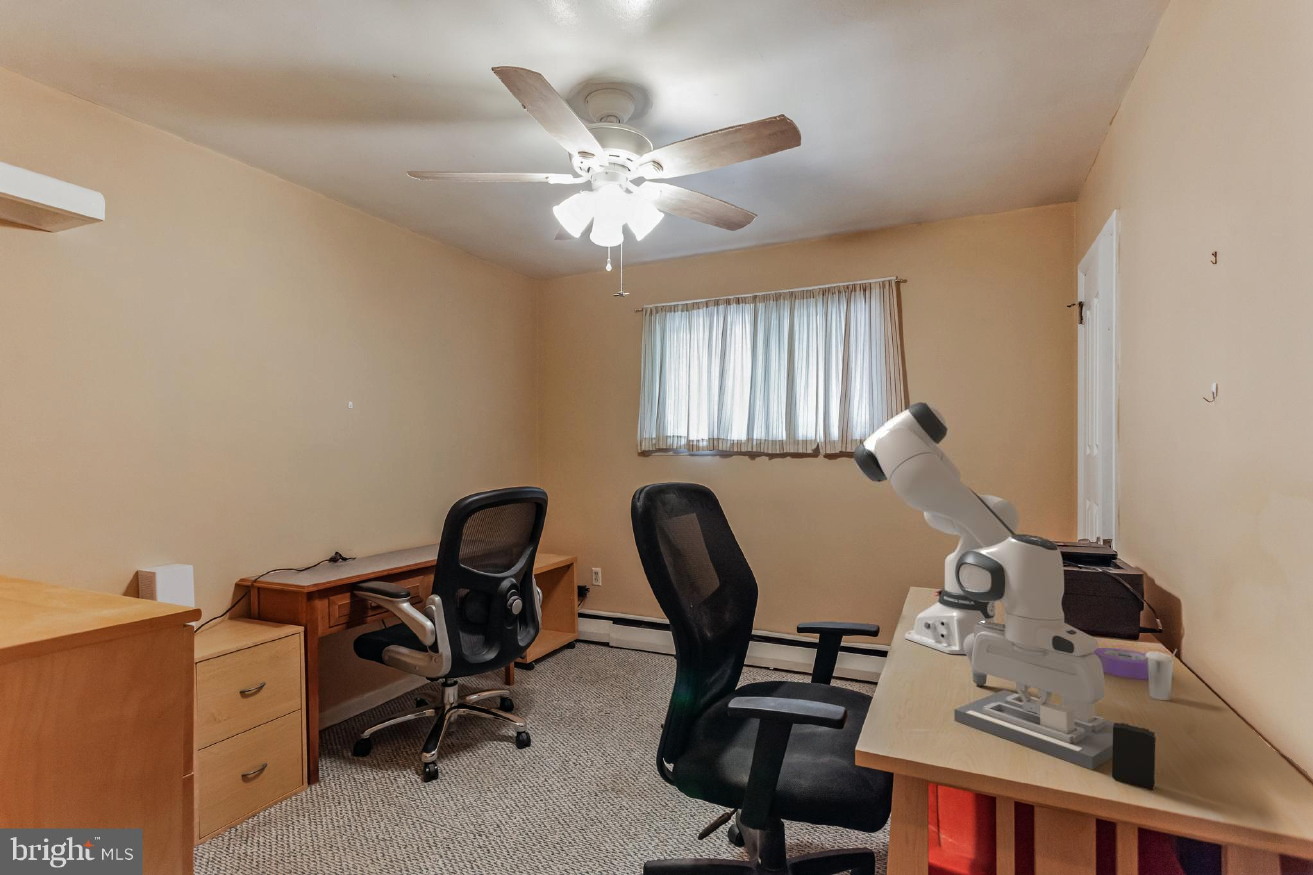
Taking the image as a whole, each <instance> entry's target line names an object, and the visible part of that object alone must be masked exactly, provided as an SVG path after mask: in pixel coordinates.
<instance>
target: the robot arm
mask: <svg viewBox="0 0 1313 875" xmlns="http://www.w3.org/2000/svg"><path fill="white" fill-rule="evenodd" d="M947 433H948V427H947V424H946V421H945V418H944V416H943V415H942V413H941V412H940V411H939V410H938V409H937V408H935V407H934V406H932V405H930V404H928V403H927V402H917V403H914V404H911V405H910V406H908V407H907V409H905V410H904V411H902V412H900V413H898V414H896V415H894V416H893V417H892V418H890V419H888V421H886V422H885V423H883V425H881V426H880V427H879V428H877V429H876V430H875V431H874V432H873V433H871V435H870V436H869V437H867V438H866V439H865V440H864V441H861V442H860V443H859V444H858V445H857V446H856V448H855V449H854V451H853V459H854V461H855V465H856V467H857V469H858V471H860V473H861V474H862V475H863V476H864V477H865V478H867V479H869V480H870V481H872V482H876V483H882V482H884V481H888V482H889V484H890V485H891V487H892V488H893V490H894V491H895V493H896V494H897V496H898V497H899V498H901V500H902V501H903V502H904V503H906V505H907V506H909V507H910V508H913V509H914V510H916V511H919V512H923V517H924V520H925V522H926V524H928V526H930V527H931V528H933V529H935V530H937V531H939V532H942V533H944V534H948V535H955V536H959V541H958V545H957V547H956V549H955V550H954V552H952V553H950V554H948V555H947V557H946V558H945V560H944V588H942V589H940V590H937V591H934V593H935V594H934V597H938V600H937V602H936V603H934V604H933V605H931V606H929V607H927V608H926V609H925V610H923V611H921V612H920V613H919V614H917V616H916V617H915V622H914V627H913V629H911V630H909V631H906V633H905V634H904V638H905V639H906V640H909V641H912V642H915V643H917V644H920V645H923V646H927V647H929V648H932V649H934V650H937V651H940V652H943V653H946V654H950V655H951V654H952V655H966V653H965V651H964V647H963V644H964V641H965V639H966V637H967V636H968V635H970V634H972V633H974V639H975V642H974V647H973V654H972V665H973V667H974V669H975V670H976V671H977V672H981V673H984V674H987V675H989V676H992V677H994V678H999V679H1003V680H1006V681H1009V682H1013V683H1015V689H1016V691H1017V694H1019V695H1020V697H1021V699H1022V700H1023V710H1024V711H1027V712H1031V713H1034V714H1037V715H1040V705H1042V704H1044V703H1047V701H1048V702H1049V700H1050V699H1051V697H1052V696H1053V694H1055V695H1058V696H1060V697H1061V696H1065V697H1068V698H1072V699H1075V700H1079V701H1082V702H1086V703H1089V704H1094V703H1095V704H1096V703H1098V702H1100V701H1101V700H1103V698H1104V697H1105V695H1106V683H1105V675H1104V673H1105V672H1103V667H1102V663H1101V661H1100V659H1099V657H1098V656H1097V655H1096V654H1094V651H1095V650H1097V649H1098V648H1099V647H1098V645H1099V643H1098V640H1097V638H1095V637H1093V636H1091V635H1090V634H1087V633H1086V632H1084V631H1081V630H1079V629H1078V628H1075V627H1074V626H1072V625H1070V624H1069V623H1066V622H1065V613H1064V611H1063V610H1064V609H1063V606H1062V600H1063V596H1064V593H1065V575H1064V574H1065V573H1064V563H1063V557H1062V554H1061V551H1060V548H1059V547H1058V545H1057V544H1056V543H1054V541H1052V540H1050V539H1047V538H1045V537H1041V536H1037V535H1030V534H1025V533H1024V534H1023V533H1016V531H1017V529H1018V525H1019V522H1020V521H1019V519H1020V517H1019V513H1018V512H1019V511H1018V510H1017V507H1016V506H1015V505H1014V504H1013V503H1012V502H1011V501H1010V500H1006V499H1004V498H1003V497H1002V498H1001V497H998V496H995V495H993V494H991V495H990V494H979V493H978V494H977V493H976V492H975V491H973V489H971V488H970V487H969V486H967V485H966V484H965V483H964V482H962V481H961V472H960V470H959V469H958V467H957V466H956V465H955V464H954V462H952V461H951V459H950V458H949V457H948V456H947V454H946V453H944V451H943V450H942V449H941V448H940V447H939V444H940V443H941V442H942V441H943V440H944V438H946V436H947ZM996 602H1000V603H1002V604H1003V606H1004V624H1003V623H998V622H995V616H996ZM1030 688H1034V689H1036V690H1037V695H1038V696H1040V697H1039V698H1038V699H1039V701H1034V700H1032V699H1031V697H1032V696H1031V694H1030V693H1029V689H1030ZM1030 696H1031V697H1030Z"/></svg>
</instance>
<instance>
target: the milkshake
mask: <svg viewBox="0 0 1313 875" xmlns="http://www.w3.org/2000/svg"><path fill="white" fill-rule="evenodd" d="M1177 651H1178V649H1177V648H1175V649H1174V651H1173V653H1172V655H1169V654H1167V653H1165V652H1161V651H1157V650H1155V651H1153V650H1149V651H1148V652H1146V653H1145V654H1146V655H1145V658H1146V666H1147V674H1148V679H1147V682H1148V684H1147V685H1148V694H1149V697H1150V698H1152V699H1155V700H1160V701H1170V700H1171V692H1172V682H1173V681H1172V680H1173V679H1172V678H1173V670H1174V661H1175V659H1174V657H1175V655H1176V653H1177Z"/></svg>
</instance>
